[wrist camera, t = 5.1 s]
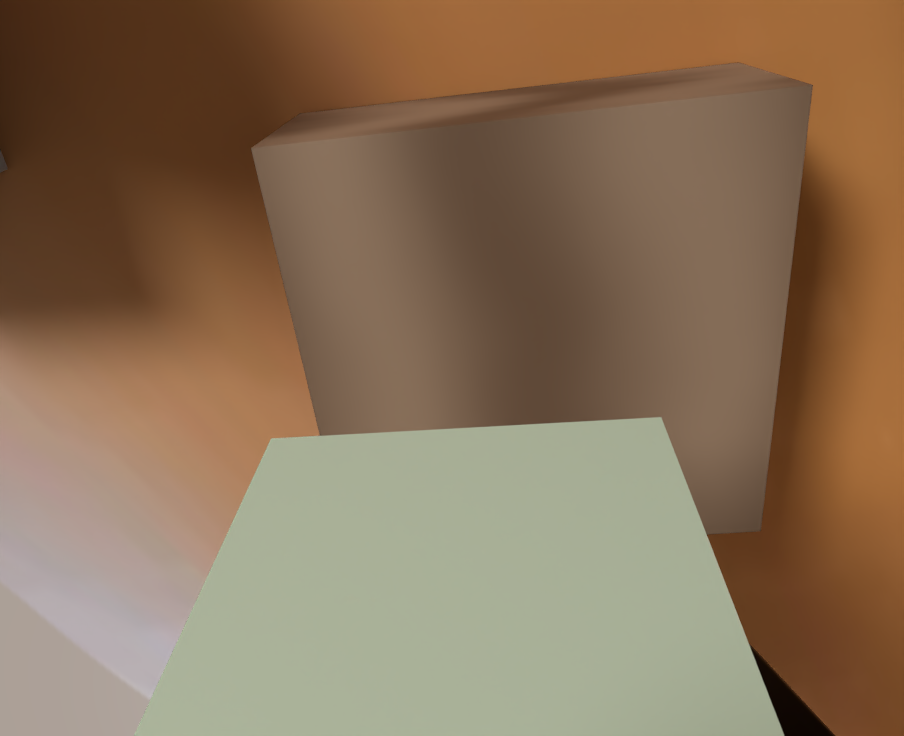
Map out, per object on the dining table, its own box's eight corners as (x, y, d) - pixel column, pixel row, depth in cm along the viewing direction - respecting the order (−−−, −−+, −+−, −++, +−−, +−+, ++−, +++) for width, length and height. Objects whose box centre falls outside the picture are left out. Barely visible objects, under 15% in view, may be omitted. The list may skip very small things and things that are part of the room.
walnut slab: (738, 62, 16) (812, 85, 12) (712, 437, 20) (760, 530, 17) (299, 113, 17) (250, 147, 13) (370, 462, 21) (349, 556, 18)
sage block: (661, 417, 9) (829, 849, 5) (646, 681, 11) (746, 1128, 7) (271, 438, 9) (80, 853, 5) (337, 688, 12) (247, 1115, 7)
